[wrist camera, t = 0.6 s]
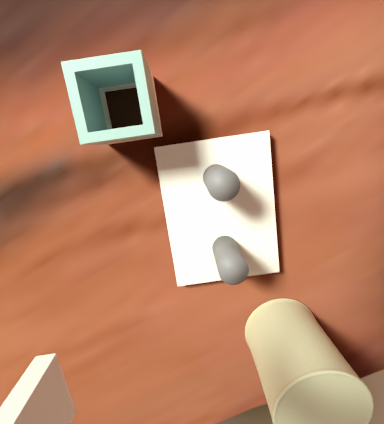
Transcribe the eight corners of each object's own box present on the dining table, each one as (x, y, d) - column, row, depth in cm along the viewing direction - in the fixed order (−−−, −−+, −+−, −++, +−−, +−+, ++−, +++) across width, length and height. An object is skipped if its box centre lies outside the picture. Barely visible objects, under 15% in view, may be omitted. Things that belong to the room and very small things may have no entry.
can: (269, 371, 37) (307, 474, 25) (230, 323, 35) (253, 412, 23) (328, 335, 36) (396, 427, 24) (292, 284, 34) (347, 356, 22)
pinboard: (155, 147, 30) (145, 147, 22) (265, 131, 30) (291, 126, 22) (178, 280, 33) (175, 317, 26) (275, 266, 33) (300, 300, 26)
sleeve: (95, 84, 28) (60, 61, 20) (153, 76, 28) (140, 49, 20) (107, 144, 29) (80, 144, 22) (162, 136, 29) (154, 133, 22)
